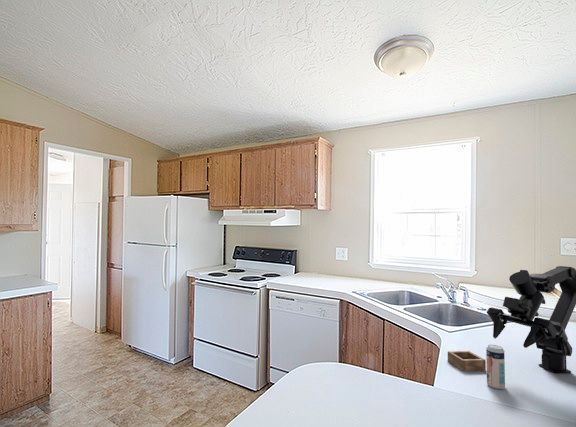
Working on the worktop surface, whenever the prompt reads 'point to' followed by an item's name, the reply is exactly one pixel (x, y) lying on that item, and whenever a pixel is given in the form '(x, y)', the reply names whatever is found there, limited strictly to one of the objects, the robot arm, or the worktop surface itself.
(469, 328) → the worktop surface
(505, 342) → the worktop surface
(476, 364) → the socket block
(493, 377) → the beer can
